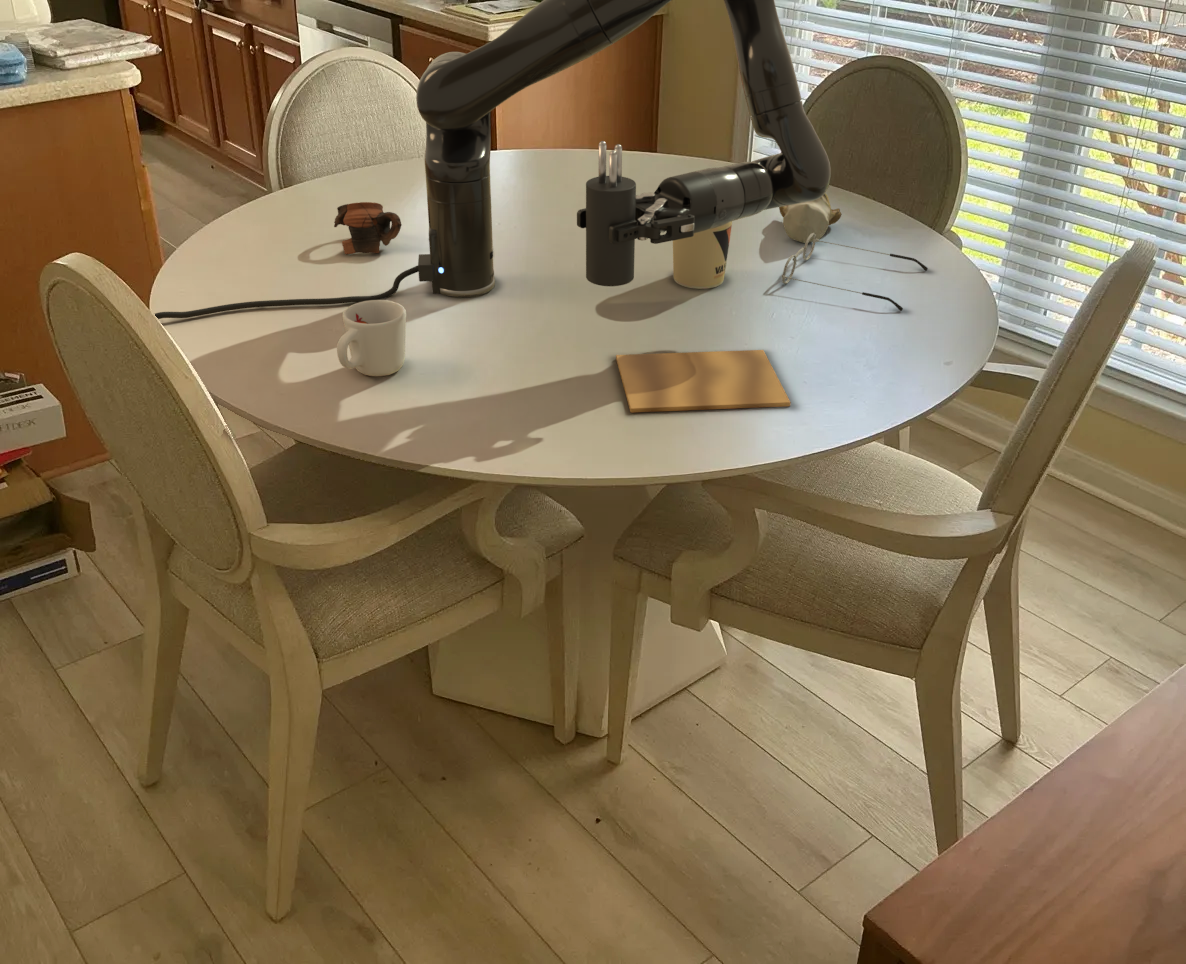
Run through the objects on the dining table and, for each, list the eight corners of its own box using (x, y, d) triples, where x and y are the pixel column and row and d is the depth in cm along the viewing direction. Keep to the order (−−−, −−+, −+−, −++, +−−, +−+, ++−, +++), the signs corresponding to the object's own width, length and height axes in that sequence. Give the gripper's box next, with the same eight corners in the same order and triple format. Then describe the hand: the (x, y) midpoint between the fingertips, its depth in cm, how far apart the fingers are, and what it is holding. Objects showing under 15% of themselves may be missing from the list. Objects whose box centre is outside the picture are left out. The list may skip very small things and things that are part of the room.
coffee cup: (725, 293, 173) (731, 216, 167) (663, 288, 175) (667, 210, 169) (732, 270, 181) (737, 195, 175) (672, 265, 183) (676, 191, 176)
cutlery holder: (588, 287, 142) (588, 150, 133) (583, 269, 147) (583, 135, 138) (636, 285, 143) (640, 148, 134) (630, 267, 148) (633, 133, 139)
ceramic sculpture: (775, 191, 186) (785, 169, 199) (769, 243, 191) (779, 219, 203) (841, 198, 184) (847, 176, 197) (834, 251, 188) (840, 226, 201)
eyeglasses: (811, 250, 189) (814, 227, 187) (926, 273, 182) (931, 249, 180) (777, 289, 175) (780, 264, 173) (901, 315, 169) (906, 290, 166)
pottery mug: (325, 257, 185) (320, 206, 185) (356, 264, 194) (351, 215, 194) (391, 246, 181) (386, 193, 181) (420, 253, 190) (415, 203, 190)
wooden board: (630, 412, 142) (630, 408, 141) (615, 358, 154) (616, 354, 154) (790, 406, 143) (790, 402, 143) (762, 353, 156) (763, 349, 156)
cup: (367, 396, 144) (361, 338, 140) (320, 380, 148) (313, 323, 144) (422, 364, 152) (418, 308, 148) (376, 349, 156) (371, 294, 151)
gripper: (665, 158, 151) (560, 181, 143) (740, 186, 141) (631, 214, 133) (663, 213, 155) (560, 239, 147) (735, 245, 145) (629, 275, 137)
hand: (594, 227), depth 140 cm, fingers closed on cutlery holder, 6 cm apart
